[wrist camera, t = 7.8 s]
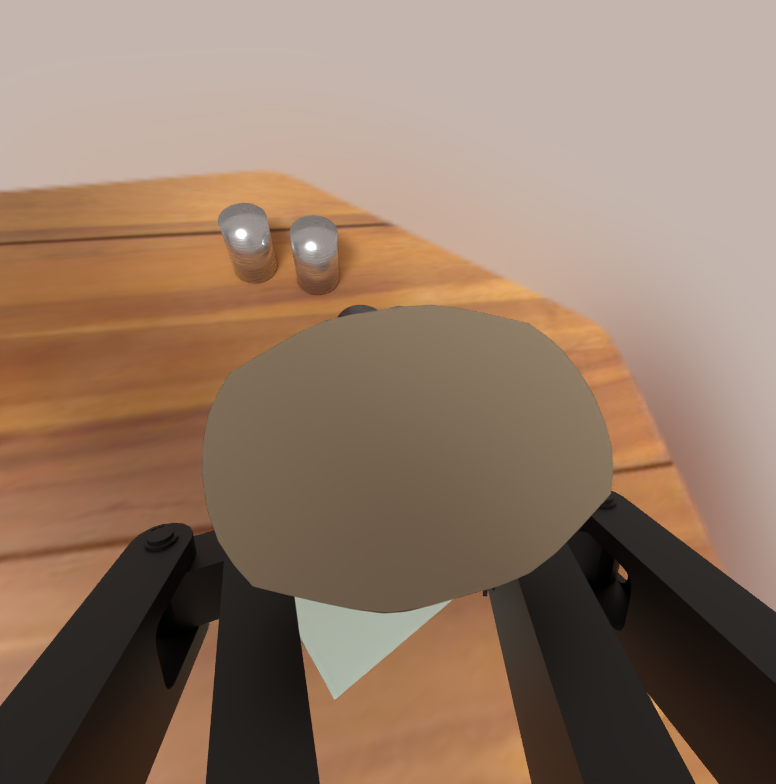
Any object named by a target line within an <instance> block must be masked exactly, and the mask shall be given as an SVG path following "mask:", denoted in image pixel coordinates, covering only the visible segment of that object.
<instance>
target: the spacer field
mask: <svg viewBox="0 0 776 784" xmlns="http://www.w3.org/2000/svg"><path fill="white" fill-rule="evenodd" d="M218 223H219V226H220V229H221V232H222V235H223V238H224V241H225V244H226V247H227V250H228V253H229V256H230V259H231V262H232V265H233V267H234V270H235V273H236V275H237V276H238V278H240V279H241V280H243V281H245V282H248V283H261V282H264V281H267V280H269V279H270V278H271V277H272V276H273V275H274V274H275V272H276V270H277V263H276V259H275V254H274V249H273V244H272V240H271V235H270V230H269V226H268V221H267V216H266V214H265V212H264V211H263V209H261V208H260V207H258V206H256V205H254V204H249V203H238V204H234V205H231V206H229V207H227V208H226V209H224V210H223V211H222V212H221V214H220V215H219V218H218ZM290 239H291V245H292V251H293V257H294V263H295V270H296V276H297V282H298V285H299V286H300V288H301V289H302V290H304V291H305V292H307V293H310V294H314V295H322V294H326V293H329V292H331V291H332V290H334V289H335V288H336V286H337V285H338V282H339V267H338V237H337V228H336V226H335V225H334V223H333V222H331V221H330V220H328V219H327V218H324V217H321V216H306V217H303V218H300V219H298V220H297V221H295V222H294V223H293V225H292V226H291V228H290ZM399 307H404V306H397V307H392V308H399ZM392 308H389V309H392Z"/></svg>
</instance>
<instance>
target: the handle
mask: <svg viewBox="0 0 776 784" xmlns="http://www.w3.org/2000/svg"><path fill="white" fill-rule="evenodd" d="M612 477H613V460H612V446H611V442H610V439H609V435H608V431H607V427H606V423H605V420H604V418H603V416H602V413H601V411H600V408H599V406H598V404H597V401H596V399H595V397H594V395H593V393H592V391H591V390H590V388H589V386H588V385H587V383H586V381H585V380H584V378H583V376H582V375H581V373H580V371H579V370H578V369H577V367H576V366H575V365H574V364H573V362H572V361H571V360H570V359H569V357H568V356H567V355H566V354H565V352H564V351H563V350H562V349H561V348H560V347H559V346H557V345H556V344H555V343H554V342H553V341H552V340H551V339H549V338H548V337H547V336H546V335H545V334H543V333H542V332H540V331H539V330H538V329H536V328H535V327H533V326H532V325H531V324H529V323H526V322H521V321H517V320H512V319H508V318H504V317H499V316H495V315H490V314H486V313H481V312H476V311H471V310H466V309H461V308H455V307H446V306H437V305H422V306H406V307H399V308H392V309H385V310H379V311H372V312H365V313H358V314H352V315H347V316H343V317H339V318H335V319H331V320H326V321H324V322H321V323H319V324H317V325H315V326H312V327H310V328H308V329H305V330H303V331H301V332H299V333H297V334H295V335H294V336H292V337H290V338H288V339H287V340H285V341H283V342H281V343H279V344H278V345H276V346H274V347H272V348H271V349H269V350H267V351H266V352H264V353H262V354H261V355H259V356H257V357H256V358H254V359H252V360H251V361H249V362H247V363H245V364H244V365H242V366H240V367H239V368H237V369H235V370H234V371H232V372H231V373H230V374H229V376H228V378H227V379H226V381H225V382H224V384H223V386H222V387H221V389H220V390H219V392H218V394H217V397H216V399H215V401H214V403H213V405H212V408H211V410H210V412H209V415H208V420H207V425H206V430H205V435H204V440H203V459H202V478H203V484H204V491H205V498H206V504H207V510H208V513H209V516H210V519H211V522H212V525H213V527H214V530H215V533H216V536H217V539H218V541H219V543H220V544H221V546H222V547H223V549H224V551H225V552H226V554H227V555H228V557H229V558H230V560H231V561H232V563H233V564H234V566H235V567H236V568H237V569H238V570H239V571H240V572H241V574H242V575H243V576H244V577H245V578H246V579H247V580H248V581H249V582H250V584H251V585H252V586H254V587H257V588H261V589H265V590H269V591H273V592H277V593H281V594H285V595H289V596H294V597H298V598H302V599H307V600H311V601H315V602H319V603H324V604H329V605H334V606H339V607H343V608H348V609H353V610H360V611H367V612H375V613H382V614H386V613H399V612H407V611H412V610H416V609H420V608H423V607H428V606H432V605H435V604H439V603H442V602H446V601H449V600H453V599H456V598H459V597H463V596H466V595H470V594H473V593H477V592H480V591H484V590H487V589H491V588H494V587H498V586H500V585H503V584H506V583H508V582H511V581H513V580H515V579H517V578H520V577H522V576H524V575H526V574H529V573H531V572H532V571H533V570H534V569H536V568H537V567H538V566H540V565H541V564H542V563H543V562H545V561H546V560H547V559H549V558H550V557H551V556H553V555H554V554H555V553H556V552H557V551H558V550H559V549H560V548H561V547H562V546H563V545H564V544H565V543H566V542H567V541H568V540H569V539H570V538H571V537H572V536H573V535H574V534H575V533H576V532H577V531H578V529H579V528H580V527H581V526H582V525H583V524H584V523H585V522H586V521H587V520H588V519H589V517H590V516H591V515H592V514H593V513H594V512H595V511H596V510H597V509H598V508H599V506H600V505H601V504H602V503H603V502H604V501H605V500H606V499H607V498H608V496H609V495H610V494H611V486H612Z"/></svg>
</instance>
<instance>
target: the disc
mask: <svg viewBox="0 0 776 784" xmlns="http://www.w3.org/2000/svg"><path fill="white" fill-rule="evenodd" d="M372 311H378V310H377V309H375V308H373V307H370V306H366V305H355V306H351V307H348V308H346V309H345V310H343V311H342V312H341V313H340V314H339V316H338V317H337V318H339V317H343V316H347V315H352V314H358V313H365V312H372Z"/></svg>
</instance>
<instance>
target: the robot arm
mask: <svg viewBox="0 0 776 784" xmlns="http://www.w3.org/2000/svg"><path fill="white" fill-rule="evenodd" d="M619 565H621V566H622V567H623V568H624V569H625V571H626V572H627V574H628V579H627V580H625V579H624V578H623V577H622V576H621V575H620V574H619V573H618V570H619ZM488 591H489V596H490V600H491V605H492V609H493V614H494V618H495V623H496V627H497V631H498V636H499V640H500V645H501V649H502V654H503V658H504V663H505V667H506V672H507V676H508V680H509V685H510V689H511V694H512V698H513V703H514V707H515V712H516V716H517V720H518V725H519V729H520V734H521V738H522V743H523V747H524V752H525V756H526V761H527V765H528V769H529V774H530V778H531V783H532V784H695V782H694V780H693V778H692V776H691V774H690V772H689V770H688V769H687V767H686V765H685V763H684V761H683V759H682V757H681V755H680V754H679V752H678V750H677V748H676V746H675V744H674V742H673V740H672V739H671V737H670V735H669V733H668V731H667V729H666V727H665V725H664V724H663V722H662V720H661V718H660V716H659V714H658V712H657V710H656V709H655V707H654V705H653V703H652V701H651V699H650V697H649V696H648V694H649V695H650V696H651V698H652V699H653V700H654V701H655V703H656V704H657V705H658V707H659V708H660V709H661V710H662V712H663V713H664V714H665V716H666V717H667V718H668V719H669V721H670V722H671V723H672V724H673V726H674V727H675V728H676V730H677V731H678V732H679V733H680V735H681V736H682V737H683V738H684V740H685V741H686V742H687V744H688V745H689V746H690V747H691V749H692V750H693V751H694V752H695V754H696V755H697V756H698V758H699V759H700V760H701V761H702V763H703V764H704V765H705V767H706V768H707V769H708V770H709V772H710V773H711V774H712V775H713V777H714V778H715V779H716V781H717V782H718V783H719V784H776V612H775V611H773V610H772V609H770V608H769V607H768V606H767V605H765V604H764V603H763V602H761V601H760V600H759V599H757V598H756V597H755V596H753V595H752V594H751V593H749V592H748V591H747V590H746V589H744V588H743V587H742V586H740V585H739V584H738V583H736V582H735V581H734V580H732V579H731V578H730V577H728V576H727V575H726V574H724V573H723V572H722V571H721V570H719V569H718V568H717V567H715V566H714V565H713V564H711V563H710V562H709V561H707V560H706V559H705V558H703V557H702V556H701V555H699V554H698V553H697V552H695V551H694V550H693V549H691V548H690V547H689V546H688V545H686V544H685V543H684V542H682V541H681V540H680V539H678V538H677V537H676V536H674V535H673V534H672V533H670V532H669V531H668V530H666V529H665V528H664V527H662V526H661V525H660V524H658V523H657V522H656V521H655V520H653V519H652V518H651V517H649V516H648V515H647V514H645V513H644V512H643V511H641V510H640V509H639V508H637V507H636V506H635V505H633V504H632V503H631V502H629V501H628V500H627V499H625V498H624V497H623V496H621V495H619V494H617V493H616V492H613V491H611V494H610V495H609V496H608V498H607V499H606V500H605V501H604V502H603V503H602V504H601V505H600V506H599V508H598V509H597V510H596V511H595V512H594V513H593V514H592V515H591V516H590V517H589V519H588V520H587V521H586V522H585V523H584V524H583V525H582V526H581V527H580V528H579V529H578V531H577V532H576V533H575V534H574V535H573V536H572V537H571V538H570V539H569V540H568V541H567V542H566V543H565V544H564V545H563V546H562V547H561V548H560V549H559V550H558V551H557V552H556V553H555V554H554V555H553V556H551V557H550V558H549V559H547V560H546V561H545V562H543V563H542V564H541V565H540V566H538V567H537V568H536V569H534V570H533V571H532V572H531V573H529V574H526V575H524V576H522V577H520V578H517V579H515V580H513V581H511V582H508V583H506V584H503V585H500V586H498V587H494V588H491V589H487V590H484V591H483V596H487V592H488ZM217 619H219V628H218V640H217V652H216V665H215V677H214V689H213V701H212V714H211V726H210V738H209V750H208V762H207V775H206V784H320V782H319V775H318V767H317V760H316V752H315V745H314V737H313V730H312V723H311V715H310V708H309V700H308V693H307V685H306V678H305V670H304V663H303V656H302V648H301V641H300V633H299V626H298V618H297V611H296V603H295V597H294V596H289V595H285V594H281V593H277V592H273V591H269V590H265V589H261V588H257V587H254V586H252V585H251V584H250V582H249V581H248V580H247V579H246V578H245V577H244V576H243V575H242V574H241V572H240V571H239V570H238V569H237V568H236V567H235V566H234V564H233V563H232V561H231V560H230V558H229V557H228V555H227V554H226V552H225V551H224V549H223V547H222V546H221V544H220V543H219V541H218V539H217V536H216V533H215V530H214V531H211V532H207V533H204V534H200V535H196V536H193V531H192V530H191V528H190V527H189V526H187V525H185V524H181V523H170V524H162V525H158V526H157V527H156V526H155V527H153V528H150V529H149V530H147V531H145V532H143V533H141V534H140V535H138V536H137V537H136V538H135V539H134V540H133V541H132V542H131V543H130V544H129V545H128V547H127V548H126V549H125V550H124V552H123V553H122V554H121V555H120V557H119V558H118V559H117V560H116V562H115V563H114V564H113V565H112V567H111V568H110V569H109V570H108V572H107V573H106V574H105V575H104V577H103V578H102V579H101V581H100V582H99V583H98V584H97V586H96V587H95V588H94V589H93V591H92V592H91V593H90V594H89V596H88V597H87V598H86V599H85V601H84V602H83V603H82V604H81V606H80V607H79V608H78V609H77V611H76V612H75V613H74V614H73V616H72V617H71V618H70V619H69V621H68V622H67V623H66V624H65V626H64V627H63V628H62V629H61V631H60V632H59V633H58V634H57V636H56V637H55V638H54V639H53V641H52V642H51V643H50V645H49V646H48V647H47V648H46V650H45V651H44V652H43V653H42V655H41V656H40V657H39V658H38V660H37V661H36V662H35V663H34V665H33V666H32V667H31V668H30V670H29V671H28V672H27V673H26V675H25V676H24V677H23V678H22V680H21V681H20V682H19V683H18V685H17V686H16V687H15V688H14V690H13V691H12V692H11V693H10V695H9V696H8V697H7V698H6V700H5V701H4V702H3V703H2V705H1V706H0V784H145V783H146V780H147V778H148V776H149V773H150V771H151V768H152V766H153V763H154V761H155V758H156V756H157V753H158V751H159V748H160V746H161V744H162V741H163V739H164V736H165V734H166V731H167V729H168V726H169V724H170V721H171V719H172V716H173V714H174V712H175V709H176V707H177V704H178V702H179V699H180V697H181V694H182V692H183V689H184V687H185V684H186V682H187V680H188V677H189V675H190V672H191V670H192V667H193V665H194V662H195V660H196V657H197V655H198V653H199V650H200V648H201V645H202V643H203V640H204V638H205V635H206V633H207V630H208V626H209V622H211V621H214V620H217ZM646 691H647V692H646ZM647 693H648V694H647Z"/></svg>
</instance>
